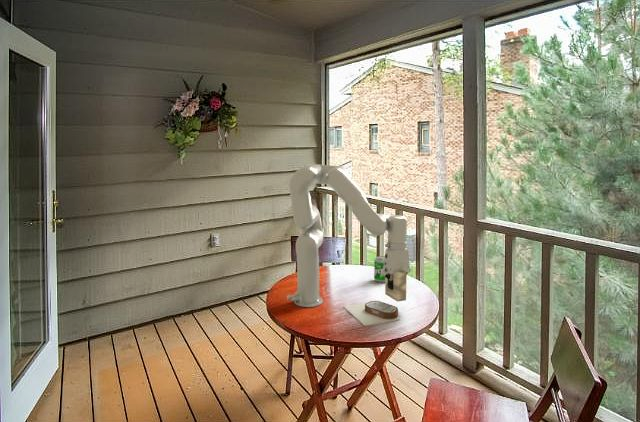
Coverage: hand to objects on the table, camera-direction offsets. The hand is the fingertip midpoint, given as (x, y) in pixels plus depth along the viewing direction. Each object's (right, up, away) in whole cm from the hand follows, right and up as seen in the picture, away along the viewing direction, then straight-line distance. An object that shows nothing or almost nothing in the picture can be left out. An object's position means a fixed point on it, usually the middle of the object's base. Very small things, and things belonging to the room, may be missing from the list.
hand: (395, 287), depth 183 cm
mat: (-11, -10, -2) cm, 15 cm away
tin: (-3, -7, -1) cm, 8 cm away
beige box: (0, -4, 0) cm, 4 cm away
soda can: (0, -3, +38) cm, 38 cm away
